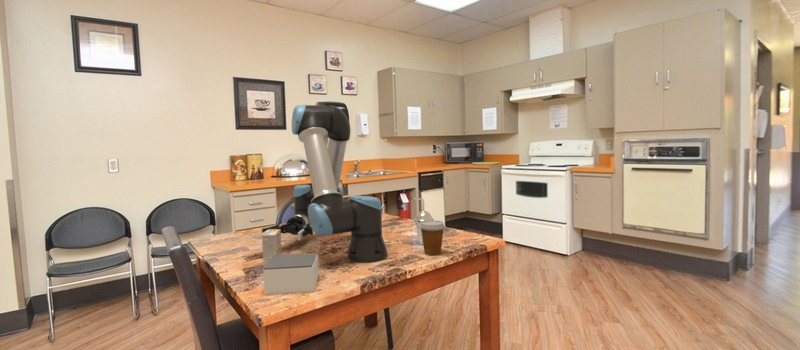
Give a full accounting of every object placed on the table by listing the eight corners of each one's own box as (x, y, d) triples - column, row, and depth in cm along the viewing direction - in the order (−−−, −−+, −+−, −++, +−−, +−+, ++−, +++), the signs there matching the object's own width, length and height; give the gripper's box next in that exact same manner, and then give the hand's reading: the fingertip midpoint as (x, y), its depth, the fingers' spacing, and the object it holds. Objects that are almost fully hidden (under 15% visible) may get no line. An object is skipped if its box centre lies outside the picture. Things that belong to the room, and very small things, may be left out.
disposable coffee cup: (438, 258, 143) (437, 226, 142) (415, 254, 148) (415, 223, 147) (449, 251, 151) (448, 221, 150) (427, 248, 156) (426, 219, 155)
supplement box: (269, 264, 140) (267, 229, 139) (282, 264, 140) (280, 228, 139) (263, 272, 132) (261, 234, 131) (277, 271, 132) (275, 234, 131)
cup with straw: (434, 245, 160) (434, 197, 159) (413, 246, 160) (412, 198, 159) (433, 240, 169) (432, 195, 167) (412, 240, 169) (411, 195, 167)
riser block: (318, 276, 128) (317, 252, 127) (313, 292, 114) (312, 265, 113) (275, 278, 126) (273, 254, 126) (264, 295, 112) (263, 268, 112)
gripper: (326, 232, 167) (314, 246, 146) (269, 233, 167) (248, 246, 146) (325, 215, 166) (313, 226, 145) (268, 216, 167) (247, 227, 146)
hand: (280, 236), depth 146 cm, fingers open, 13 cm apart
